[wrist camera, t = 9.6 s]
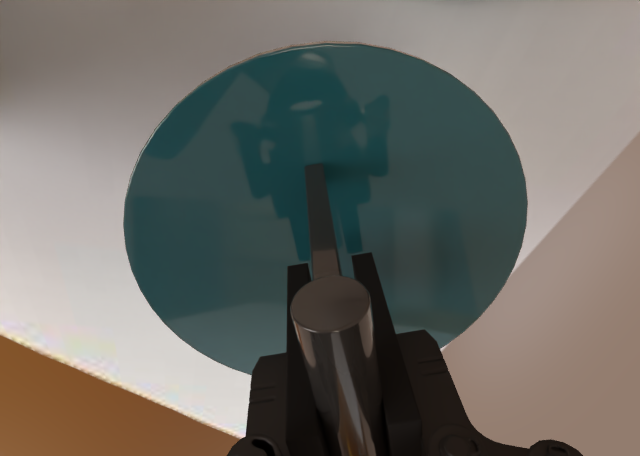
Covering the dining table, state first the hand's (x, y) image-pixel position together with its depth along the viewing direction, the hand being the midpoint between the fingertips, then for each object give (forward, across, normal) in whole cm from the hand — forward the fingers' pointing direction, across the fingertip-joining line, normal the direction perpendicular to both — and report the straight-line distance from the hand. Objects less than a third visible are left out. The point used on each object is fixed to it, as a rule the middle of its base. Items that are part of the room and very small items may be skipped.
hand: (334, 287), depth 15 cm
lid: (+3, 0, 0) cm, 3 cm away
